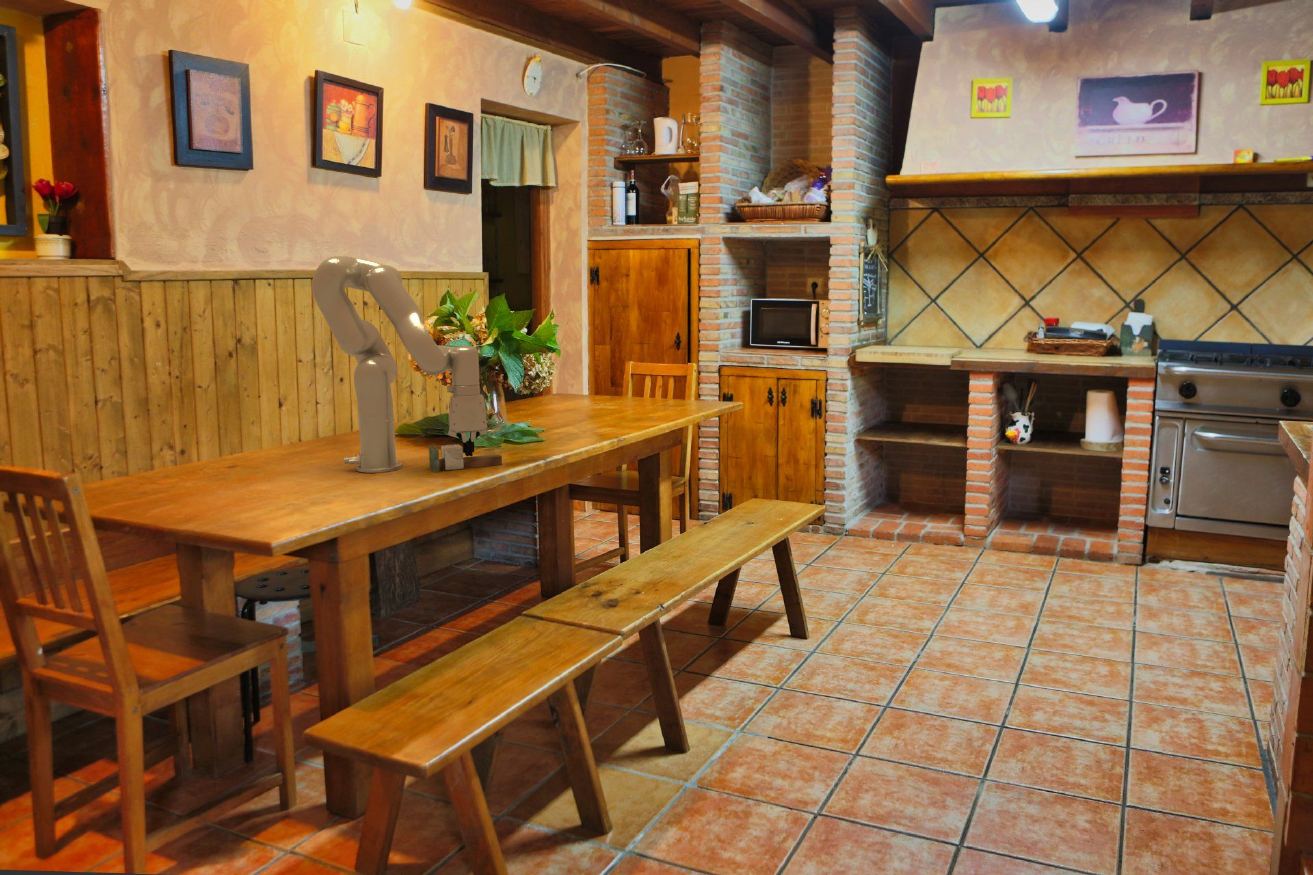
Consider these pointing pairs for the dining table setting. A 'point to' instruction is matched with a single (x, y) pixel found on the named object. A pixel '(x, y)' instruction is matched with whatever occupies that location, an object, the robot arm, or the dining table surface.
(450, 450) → the keeper
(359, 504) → the dining table surface
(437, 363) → the robot arm
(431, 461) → the rail
